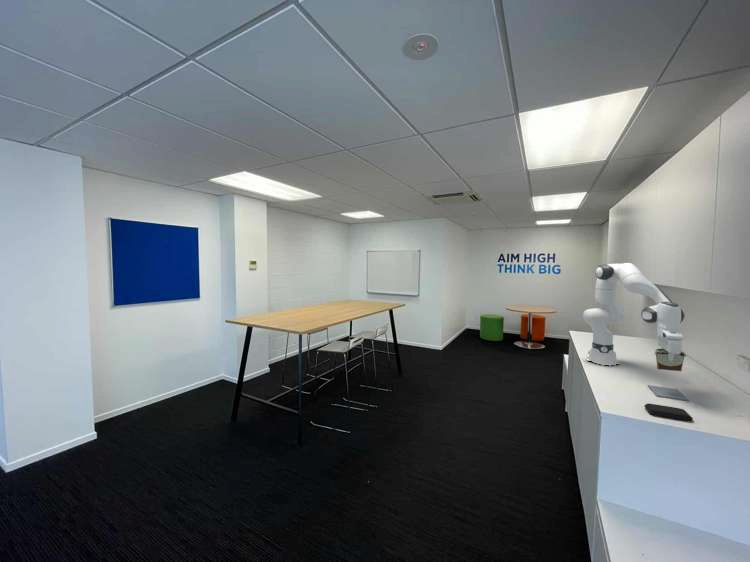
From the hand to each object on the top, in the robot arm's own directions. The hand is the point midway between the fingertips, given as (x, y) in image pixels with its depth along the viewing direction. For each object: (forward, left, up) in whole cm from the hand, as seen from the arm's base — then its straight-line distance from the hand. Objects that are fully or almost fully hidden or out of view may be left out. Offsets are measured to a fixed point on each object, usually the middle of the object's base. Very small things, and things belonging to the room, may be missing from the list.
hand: (667, 358), depth 157 cm
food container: (-1, 0, -6) cm, 6 cm away
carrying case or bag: (+30, -8, -20) cm, 36 cm away
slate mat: (0, 0, -19) cm, 19 cm away
